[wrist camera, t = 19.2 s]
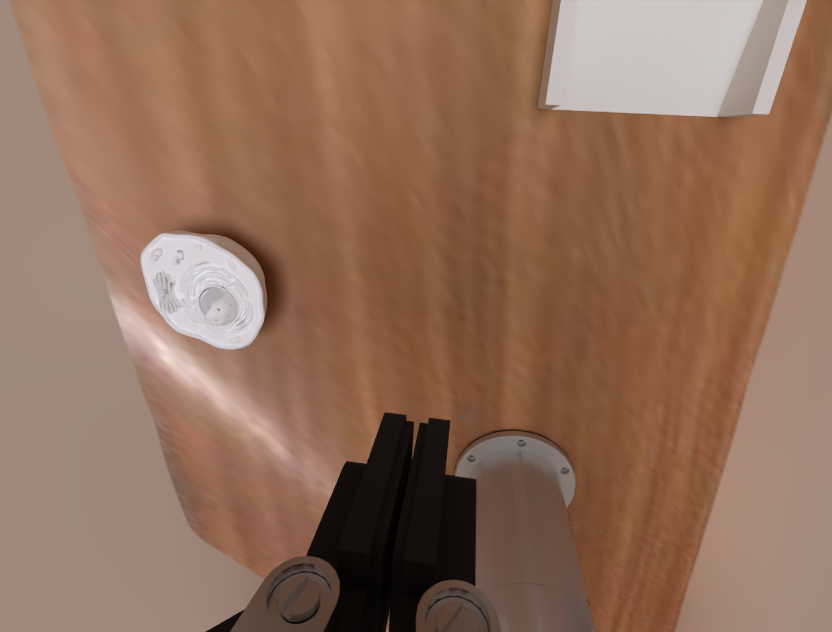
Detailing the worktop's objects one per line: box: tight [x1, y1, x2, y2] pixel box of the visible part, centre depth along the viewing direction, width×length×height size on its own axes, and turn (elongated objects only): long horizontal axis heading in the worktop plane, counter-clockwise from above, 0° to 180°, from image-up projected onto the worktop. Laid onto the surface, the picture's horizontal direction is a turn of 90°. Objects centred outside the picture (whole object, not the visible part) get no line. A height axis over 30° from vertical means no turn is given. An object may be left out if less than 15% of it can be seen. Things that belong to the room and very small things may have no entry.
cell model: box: [140, 231, 267, 350], centre depth 39 cm, size 10×12×7 cm
